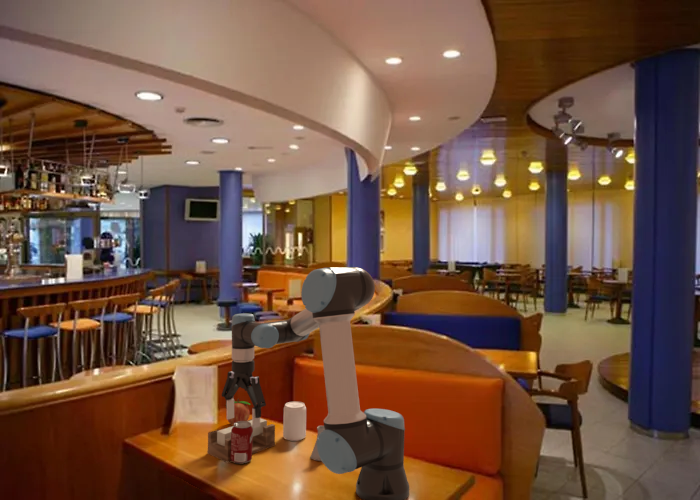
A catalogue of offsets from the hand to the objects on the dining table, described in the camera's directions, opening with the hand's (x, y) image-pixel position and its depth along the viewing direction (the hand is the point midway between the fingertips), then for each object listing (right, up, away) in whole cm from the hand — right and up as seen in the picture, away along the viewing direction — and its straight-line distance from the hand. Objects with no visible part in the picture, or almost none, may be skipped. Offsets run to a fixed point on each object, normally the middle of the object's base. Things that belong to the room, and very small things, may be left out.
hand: (243, 422), depth 187 cm
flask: (+27, -10, -5) cm, 29 cm away
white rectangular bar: (0, -5, +1) cm, 5 cm away
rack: (0, -9, +1) cm, 9 cm away
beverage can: (+16, -9, +12) cm, 22 cm away
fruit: (-7, -9, +24) cm, 27 cm away
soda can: (+1, -10, -9) cm, 13 cm away
